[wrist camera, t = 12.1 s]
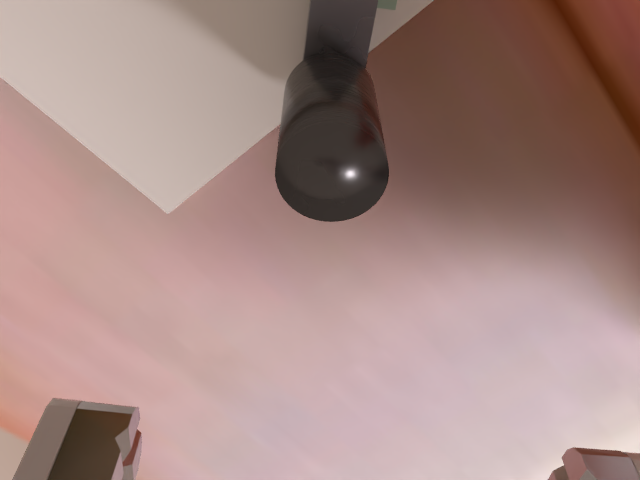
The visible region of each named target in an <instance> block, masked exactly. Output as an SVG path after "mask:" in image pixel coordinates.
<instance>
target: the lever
mask: <svg viewBox="0 0 640 480" xmlns="http://www.w3.org/2000/svg"><path fill="white" fill-rule="evenodd" d="M377 5H378V0H310V3H309V11H308V19H307V28H306V36H305V44H304V52H303V60H302V62H300V63H299V64H298V65H297V66H296V67H295V68H294V69H293V71H292V72H291V74H290V75H289V77H288V79H287V82H286V85H285V90H284V98H283V107H282V116H281V124H280V133H279V142H278V151H277V159H276V168H275V177H276V183H277V187H278V189H279V192H280V194H281V195H282V197H283V199H284V200H285V201H286V202H287V204H288V205H290V206H291V207H292V208H293V209H294V210H296V211H297V212H298V213H300V214H302V215H304V216H306V217H309V218H312V219H315V220H320V221H329V222H333V221H343V220H347V219H351V218H354V217H356V216H359V215H361V214H363V213H364V212H366V211H367V210H369V209H370V208H371V207H372V206H374V205H375V204H376V202H377V201H378V200H379V199H380V197H381V196H382V194H383V193H384V190H385V188H386V185H387V182H388V177H389V168H388V161H387V156H386V150H385V145H384V139H383V133H382V128H381V122H380V117H379V111H378V106H377V100H376V95H375V89H374V85H373V81H372V79H371V77H370V75H369V73H368V71H367V70H366V69H365V68H366V62H367V57H368V52H369V47H370V41H371V36H372V31H373V26H374V20H375V15H376V10H377Z"/></svg>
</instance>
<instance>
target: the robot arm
mask: <svg viewBox="0 0 640 480" xmlns="http://www.w3.org/2000/svg"><path fill="white" fill-rule="evenodd" d="M139 421H140V413H139V407H132V406H122V405H113V404H104V403H95V402H85V401H79V400H68V399H57V398H53V399H52V400H51V402H50V403H49V404H48V405H47V406H46V408H45V410H44V413H43V415H42V417H41V419H40V421H39V423H38V425H37V428H36V430H35V432H34V434H33V436H32V438H31V441H30V443H29V445H28V447H27V449H26V451H25V454H24V456H23V458H22V460H21V462H20V464H19V467H18V469H17V471H16V473H15V475H14V477H13V479H12V480H135V479H136V475H137V472H138V467H139V462H140V456H141V448H142V435H141V432H140V431H139V430H137V427H138V424H139ZM562 460H563V463H564V466H562V467H560V468H558V469H556V470H554V471H553V472H552V474H551V475H550V477H549V479H548V480H640V453H627V452H621V451H613V450H600V449H587V448H574V447H573V448H571V449H568V450H567V451H566V452H565V454H564V455H563V456H562Z"/></svg>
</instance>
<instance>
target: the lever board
mask: <svg viewBox="0 0 640 480" xmlns="http://www.w3.org/2000/svg"><path fill="white" fill-rule="evenodd" d="M432 1H434V0H378V5H377V10H376V15H375V20H374V26H373V31H372V36H371V41H370V47H369V52H370V51H372V50H373V49H374V48H375V47H377V46H378V45H379V44H380V43H382V42H383V41H384V40H385V39H386V38H388V37H389V36H390V35H391V34H393V33H394V32H395V31H396V30H398V29H399V28H400V27H401V26H403V25H404V24H405V23H406V22H408V21H409V20H410V19H411V18H413V17H414V16H415V15H416V14H418V13H419V12H420V11H421V10H423V9H424V8H425V7H426V6H428V5H429V4H430V3H431V2H432ZM309 3H310V0H0V77H1V78H2V79H3V80H4V81H6V82H7V83H8V84H9V85H10V86H12V87H13V88H14V89H15V90H17V91H18V92H19V93H20V94H21V95H23V96H24V97H25V98H26V99H28V100H29V101H30V102H31V103H32V104H34V105H35V106H36V107H37V108H39V109H40V110H41V111H42V112H43V113H45V114H46V115H47V116H48V117H50V118H51V119H52V120H53V121H54V122H56V123H57V124H58V125H59V126H61V127H62V128H63V129H64V130H65V131H67V132H68V133H69V134H70V135H72V136H73V137H74V138H75V139H76V140H78V141H79V142H80V143H81V144H83V145H84V146H85V147H86V148H87V149H89V150H90V151H91V152H92V153H94V154H95V155H96V156H97V157H98V158H100V159H101V160H102V161H103V162H105V163H106V164H107V165H108V166H109V167H111V168H112V169H113V170H114V171H116V172H117V173H118V174H119V175H120V176H122V177H123V178H124V179H125V180H127V181H128V182H129V183H130V184H131V185H133V186H134V187H135V188H136V189H138V190H139V191H140V192H141V193H142V194H144V195H145V196H146V197H147V198H149V199H150V200H151V201H152V202H153V203H155V204H156V205H157V206H158V207H160V208H161V209H162V210H163V211H165V212H166V213H167V214H169V213H170V212H171V211H173V210H174V209H175V208H176V207H178V206H179V205H180V204H181V203H183V202H184V201H185V200H186V199H188V198H189V197H190V196H191V195H193V194H194V193H195V192H196V191H198V190H199V189H200V188H201V187H203V186H204V185H205V184H206V183H207V182H209V181H210V180H211V179H212V178H214V177H215V176H216V175H217V174H219V173H220V172H221V171H222V170H224V169H225V168H226V167H227V166H229V165H230V164H231V163H232V162H234V161H235V160H236V159H237V158H239V157H240V156H241V155H242V154H244V153H245V152H246V151H247V150H249V149H250V148H251V147H252V146H253V145H255V144H256V143H257V142H258V141H260V140H261V139H262V138H263V137H265V136H266V135H267V134H268V133H270V132H271V131H272V130H273V129H275V128H276V127H277V126H278V125H280V124H281V116H282V107H283V98H284V90H285V85H286V82H287V79H288V77H289V75H290V74H291V72H292V71H293V69H294V68H295V67H296V66H297V65H298V64H299V63H300V62H302V60H303V52H304V44H305V36H306V28H307V19H308V11H309ZM369 52H368V53H369Z"/></svg>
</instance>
